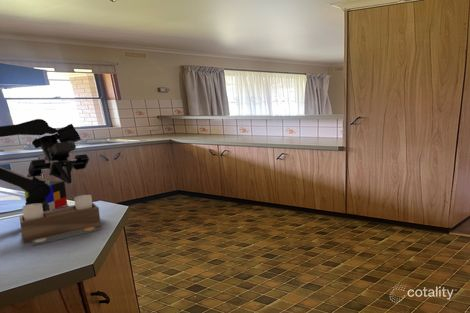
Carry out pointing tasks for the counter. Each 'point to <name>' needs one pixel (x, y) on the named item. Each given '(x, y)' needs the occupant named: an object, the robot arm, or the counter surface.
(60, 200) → the puzzle toy
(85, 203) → the beige cylinder
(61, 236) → the pattern card
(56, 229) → the button console
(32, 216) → the unmarked button
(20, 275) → the counter surface
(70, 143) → the robot arm
